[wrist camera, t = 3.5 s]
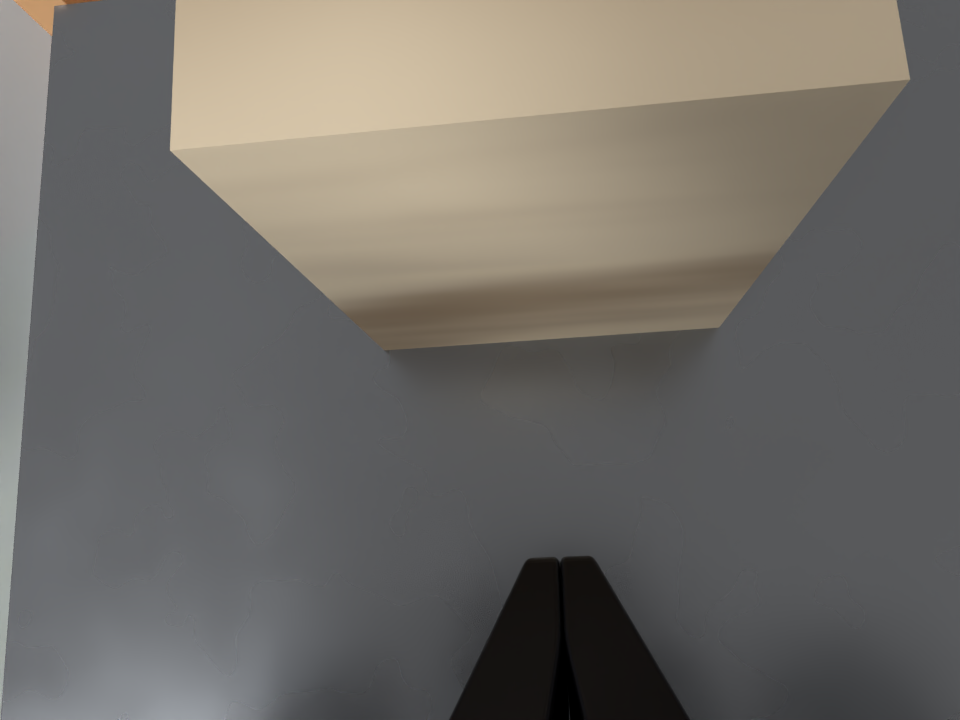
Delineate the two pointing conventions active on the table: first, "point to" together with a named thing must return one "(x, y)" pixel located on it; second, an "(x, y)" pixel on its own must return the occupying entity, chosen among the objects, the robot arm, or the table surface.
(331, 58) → the beech block
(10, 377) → the table surface
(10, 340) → the table surface
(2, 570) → the table surface
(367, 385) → the slate plate
